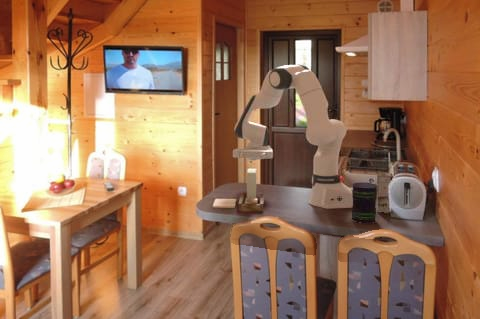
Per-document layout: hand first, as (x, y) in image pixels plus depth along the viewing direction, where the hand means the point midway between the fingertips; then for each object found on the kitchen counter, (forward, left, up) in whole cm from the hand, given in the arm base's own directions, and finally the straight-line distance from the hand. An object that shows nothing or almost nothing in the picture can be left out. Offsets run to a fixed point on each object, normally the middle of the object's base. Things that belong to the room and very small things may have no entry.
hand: (252, 156), depth 241 cm
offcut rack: (0, +19, -20) cm, 27 cm away
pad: (+12, +16, -20) cm, 28 cm away
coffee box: (-59, +23, -20) cm, 66 cm away
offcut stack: (0, +24, -20) cm, 32 cm away
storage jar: (-47, +39, -20) cm, 64 cm away
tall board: (0, +16, -20) cm, 26 cm away
